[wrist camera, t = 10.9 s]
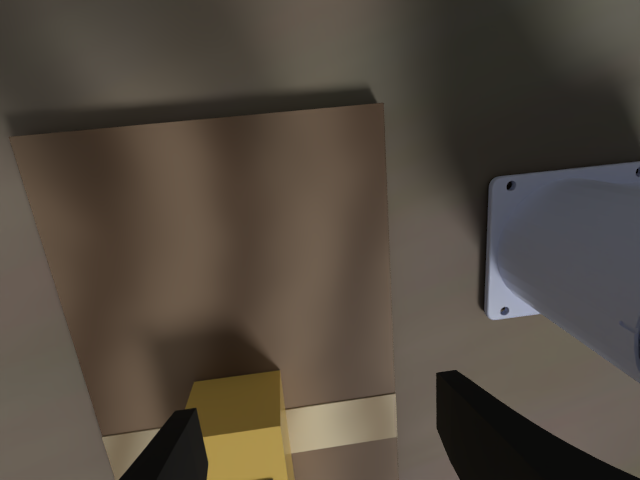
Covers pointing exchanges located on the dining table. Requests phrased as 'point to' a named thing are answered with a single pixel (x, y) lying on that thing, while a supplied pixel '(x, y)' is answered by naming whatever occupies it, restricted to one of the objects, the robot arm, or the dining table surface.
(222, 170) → the board
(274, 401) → the block
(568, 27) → the dining table surface
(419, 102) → the dining table surface
